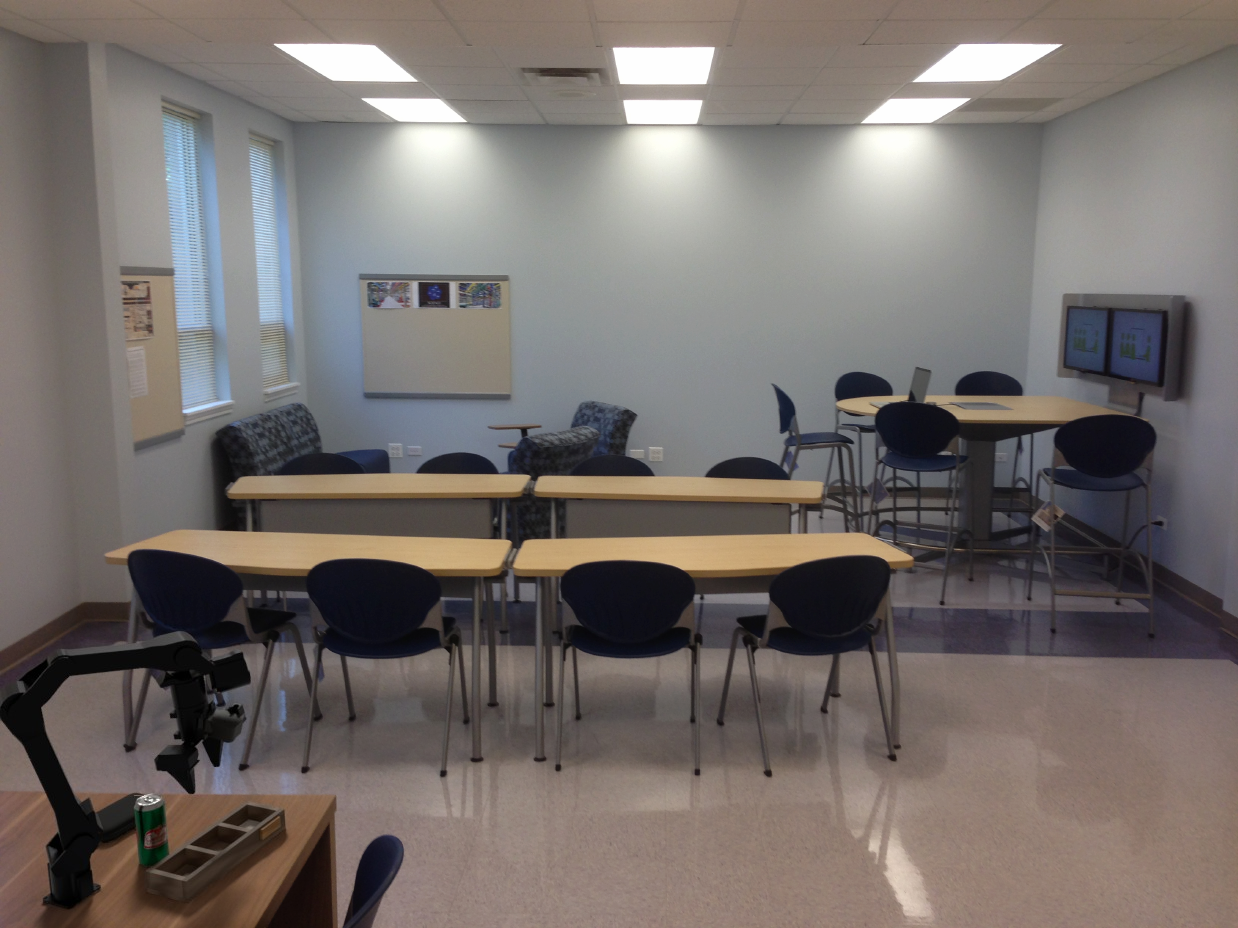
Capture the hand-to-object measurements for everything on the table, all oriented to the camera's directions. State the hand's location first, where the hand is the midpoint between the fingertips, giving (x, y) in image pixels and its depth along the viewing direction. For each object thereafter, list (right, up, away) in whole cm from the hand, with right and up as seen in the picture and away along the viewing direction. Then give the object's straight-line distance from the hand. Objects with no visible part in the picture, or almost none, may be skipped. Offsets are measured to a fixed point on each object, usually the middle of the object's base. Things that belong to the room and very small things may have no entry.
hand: (204, 779), depth 176 cm
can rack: (+3, -14, 0) cm, 15 cm away
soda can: (-9, -15, 0) cm, 17 cm away
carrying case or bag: (-22, -13, +13) cm, 29 cm away
